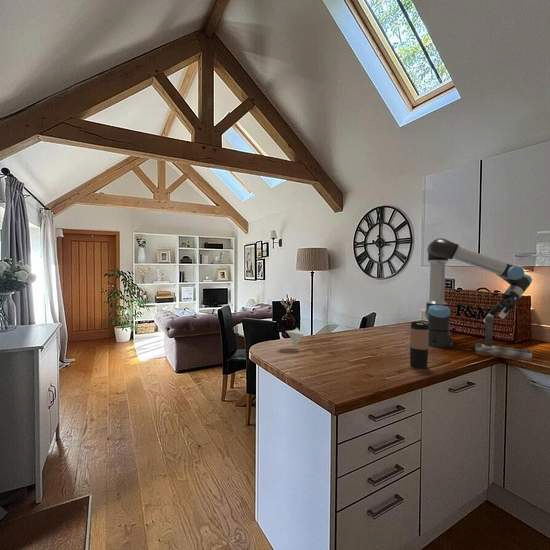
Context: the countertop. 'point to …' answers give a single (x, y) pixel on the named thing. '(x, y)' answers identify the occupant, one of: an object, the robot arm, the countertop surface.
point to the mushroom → (295, 336)
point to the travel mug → (419, 344)
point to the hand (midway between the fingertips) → (492, 320)
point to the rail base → (504, 352)
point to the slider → (488, 332)
